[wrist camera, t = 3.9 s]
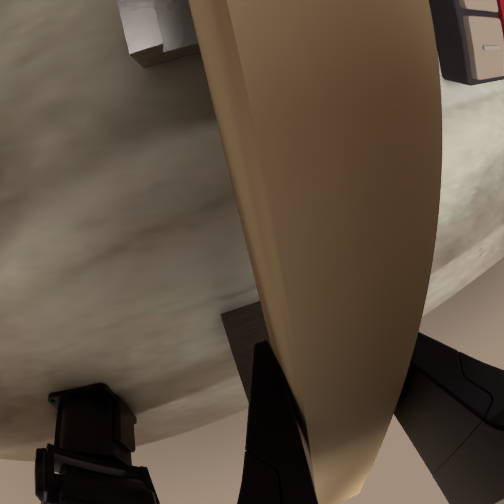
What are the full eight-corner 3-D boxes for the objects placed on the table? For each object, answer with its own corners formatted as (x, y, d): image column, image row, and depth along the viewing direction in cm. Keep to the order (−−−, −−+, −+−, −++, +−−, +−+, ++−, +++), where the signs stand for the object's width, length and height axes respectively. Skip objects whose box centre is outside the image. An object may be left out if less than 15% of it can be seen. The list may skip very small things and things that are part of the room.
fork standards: (228, 336, 24) (256, 418, 18) (133, 27, 12) (114, -14, 6) (290, 315, 24) (332, 389, 18) (229, 5, 13) (278, -43, 7)
